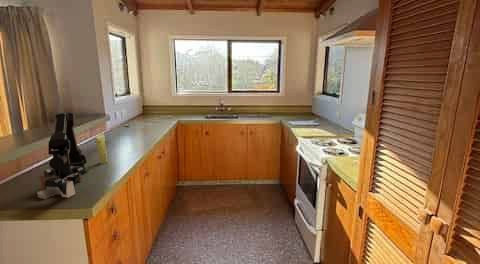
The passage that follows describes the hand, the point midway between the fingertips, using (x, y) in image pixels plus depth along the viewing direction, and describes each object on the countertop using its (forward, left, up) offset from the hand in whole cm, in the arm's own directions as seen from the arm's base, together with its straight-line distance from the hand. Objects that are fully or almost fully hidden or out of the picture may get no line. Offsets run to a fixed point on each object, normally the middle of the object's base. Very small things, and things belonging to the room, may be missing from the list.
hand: (68, 192), depth 131 cm
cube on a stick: (-1, -6, -2) cm, 7 cm away
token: (+1, -11, -2) cm, 12 cm away
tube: (-48, -15, -2) cm, 50 cm away
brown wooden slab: (-11, -13, -2) cm, 17 cm away
